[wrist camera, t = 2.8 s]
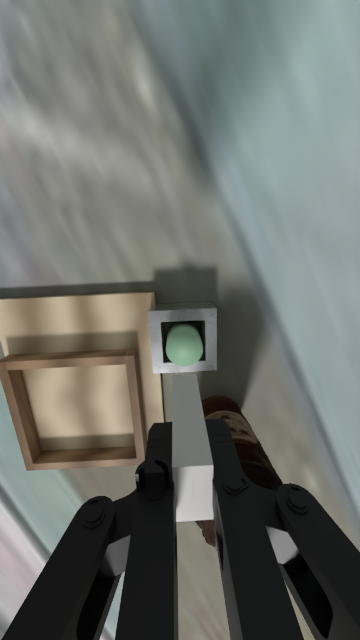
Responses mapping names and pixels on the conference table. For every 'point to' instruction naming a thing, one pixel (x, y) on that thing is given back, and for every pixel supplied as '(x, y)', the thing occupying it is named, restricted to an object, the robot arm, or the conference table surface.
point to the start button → (184, 344)
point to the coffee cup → (239, 452)
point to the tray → (80, 378)
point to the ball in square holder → (183, 313)
